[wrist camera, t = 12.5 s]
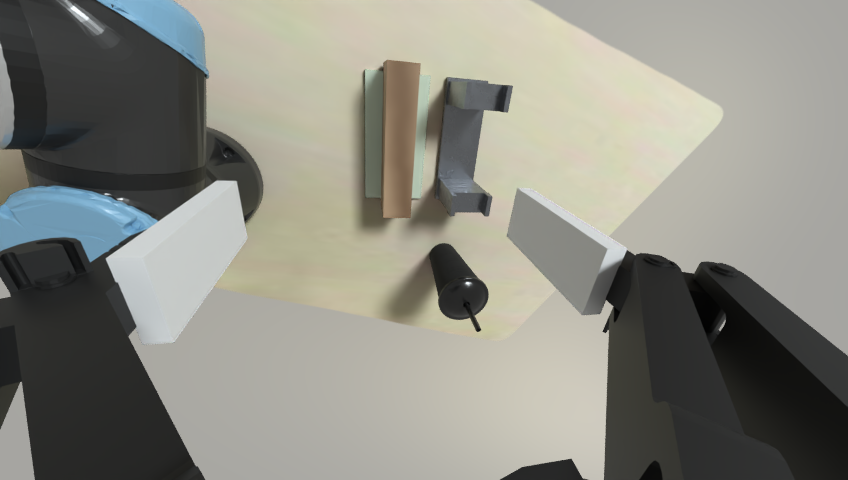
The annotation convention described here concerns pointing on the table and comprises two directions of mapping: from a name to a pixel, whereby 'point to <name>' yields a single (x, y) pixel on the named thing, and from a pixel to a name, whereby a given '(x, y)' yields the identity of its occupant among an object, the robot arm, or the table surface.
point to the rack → (465, 142)
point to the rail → (398, 136)
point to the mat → (375, 133)
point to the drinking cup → (457, 285)
